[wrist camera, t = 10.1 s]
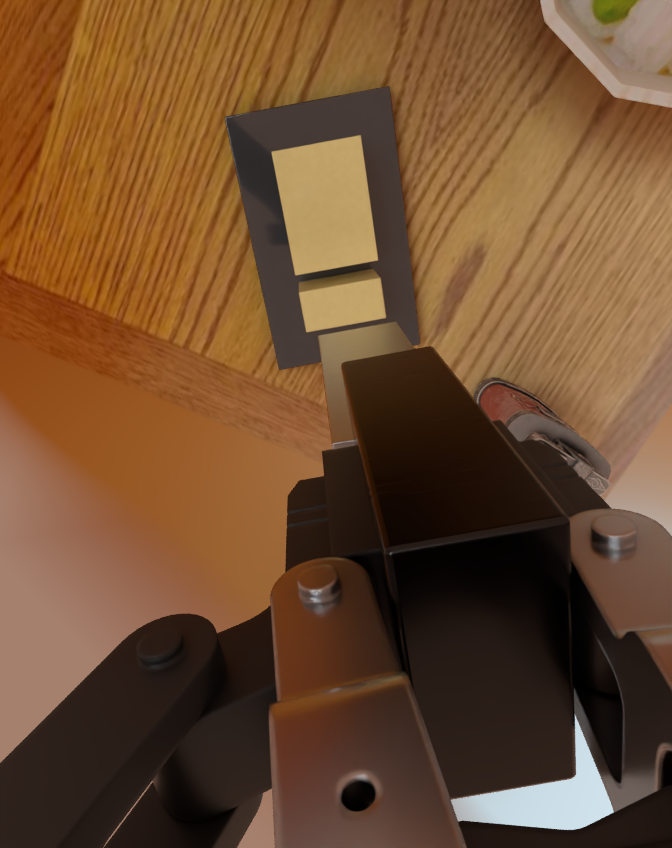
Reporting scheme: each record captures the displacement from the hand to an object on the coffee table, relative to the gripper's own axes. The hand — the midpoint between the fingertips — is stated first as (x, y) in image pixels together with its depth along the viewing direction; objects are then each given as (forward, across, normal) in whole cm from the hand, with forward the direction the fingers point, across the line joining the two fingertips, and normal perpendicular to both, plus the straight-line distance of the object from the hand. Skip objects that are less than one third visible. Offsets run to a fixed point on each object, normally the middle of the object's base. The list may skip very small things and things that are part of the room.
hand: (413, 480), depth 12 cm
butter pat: (+30, 0, +2) cm, 30 cm away
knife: (+12, 0, 0) cm, 12 cm away
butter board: (+31, 0, -2) cm, 31 cm away
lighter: (+31, -12, +13) cm, 36 cm away
